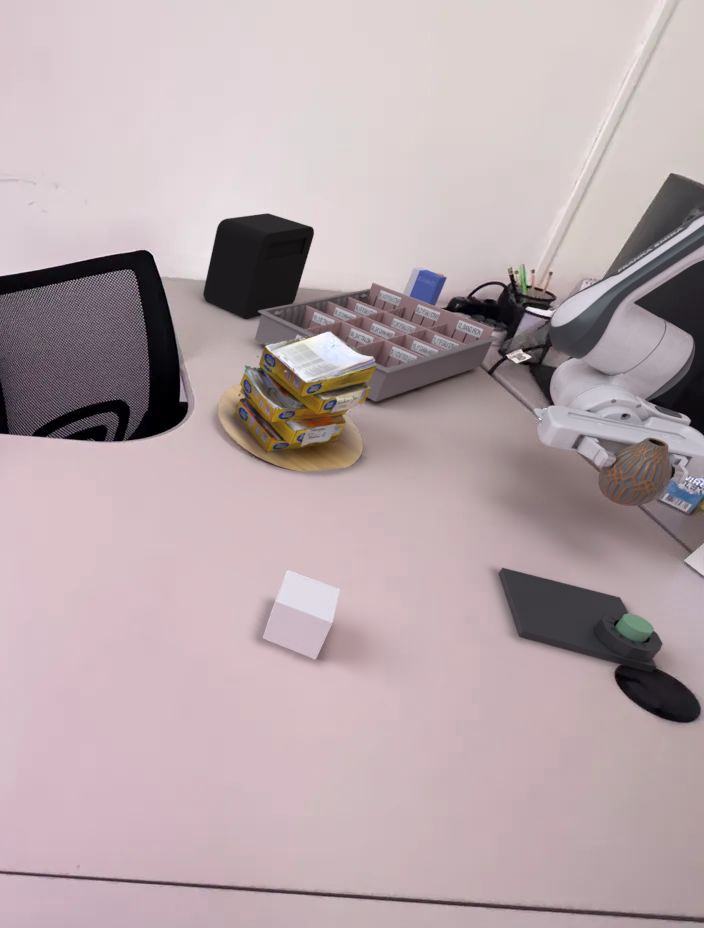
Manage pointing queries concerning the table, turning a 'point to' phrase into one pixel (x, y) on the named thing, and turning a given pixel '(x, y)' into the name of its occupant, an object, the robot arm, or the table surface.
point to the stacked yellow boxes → (300, 404)
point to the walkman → (425, 285)
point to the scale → (574, 620)
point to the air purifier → (256, 263)
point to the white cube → (302, 614)
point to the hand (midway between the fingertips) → (643, 470)
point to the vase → (637, 473)
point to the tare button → (634, 628)
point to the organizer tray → (386, 335)
